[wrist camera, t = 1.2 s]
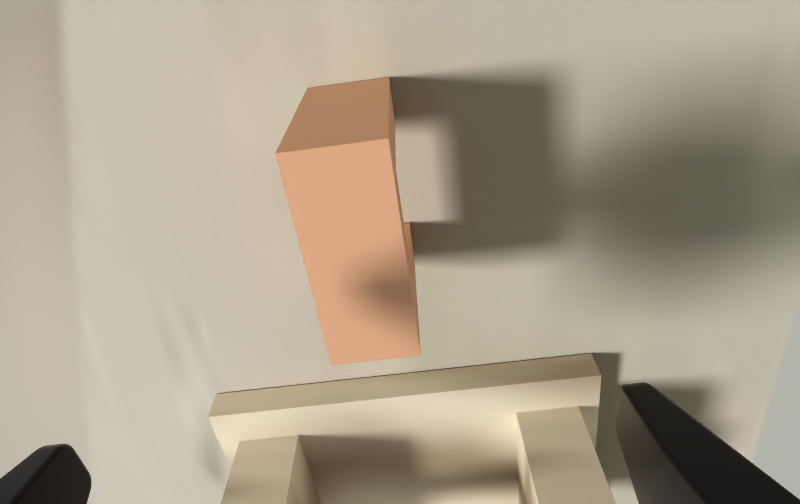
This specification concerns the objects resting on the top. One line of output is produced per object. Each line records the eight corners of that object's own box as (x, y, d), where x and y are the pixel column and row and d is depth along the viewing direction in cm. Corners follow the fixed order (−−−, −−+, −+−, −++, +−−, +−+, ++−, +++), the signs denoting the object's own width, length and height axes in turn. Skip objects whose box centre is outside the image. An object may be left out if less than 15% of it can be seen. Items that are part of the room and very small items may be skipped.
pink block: (413, 253, 19) (420, 355, 15) (345, 261, 19) (331, 364, 15) (388, 76, 16) (388, 138, 11) (307, 88, 16) (275, 153, 12)
